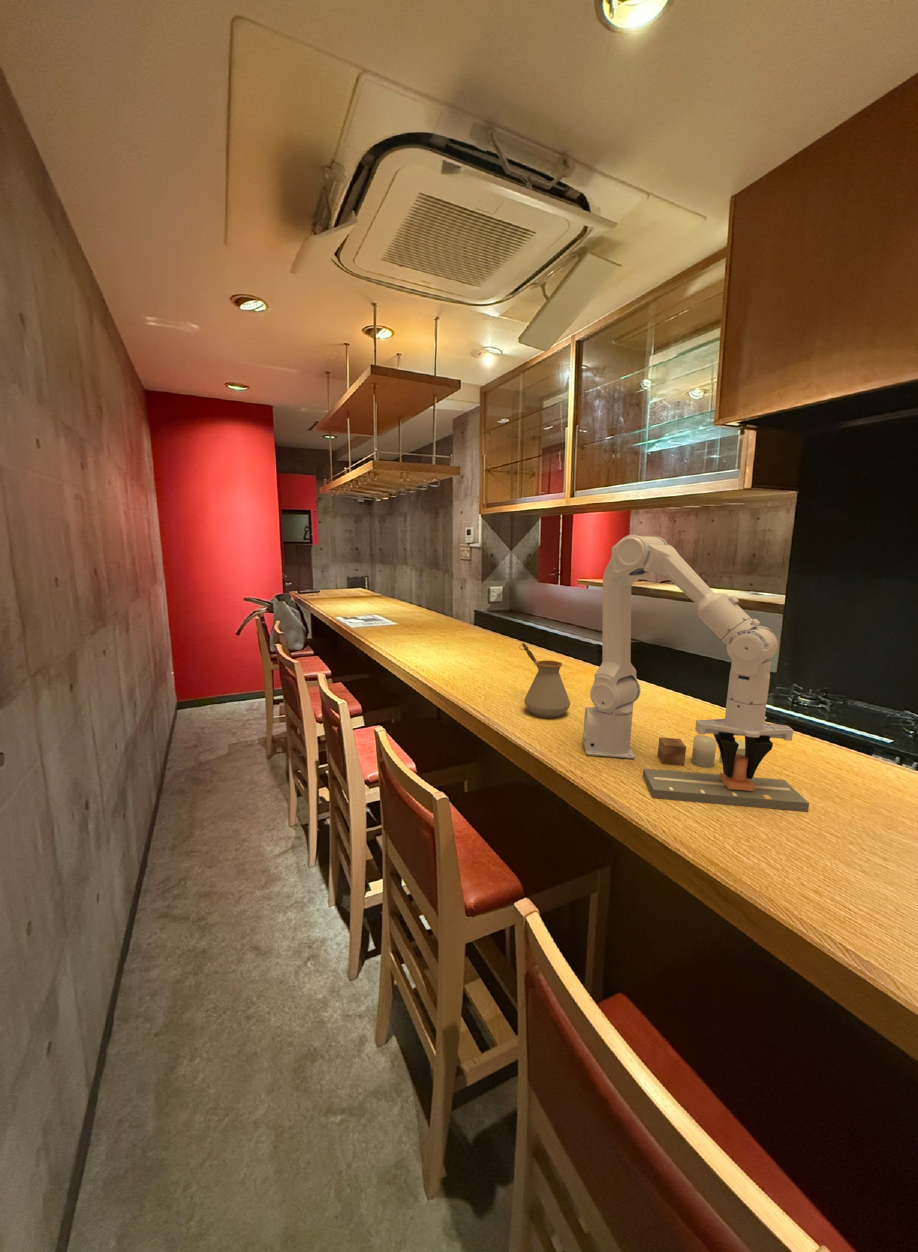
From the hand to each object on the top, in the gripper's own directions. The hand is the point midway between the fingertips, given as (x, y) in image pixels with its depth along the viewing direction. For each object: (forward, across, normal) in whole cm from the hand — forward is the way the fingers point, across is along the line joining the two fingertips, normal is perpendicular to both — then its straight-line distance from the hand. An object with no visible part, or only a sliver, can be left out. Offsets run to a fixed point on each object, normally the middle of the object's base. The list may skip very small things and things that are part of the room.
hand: (737, 775), depth 84 cm
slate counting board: (+3, -2, 0) cm, 4 cm away
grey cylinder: (+3, -2, +12) cm, 13 cm away
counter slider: (+2, 0, 0) cm, 2 cm away
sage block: (+3, +4, +12) cm, 13 cm away
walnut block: (+3, -8, +12) cm, 15 cm away
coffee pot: (+4, -34, +40) cm, 52 cm away
